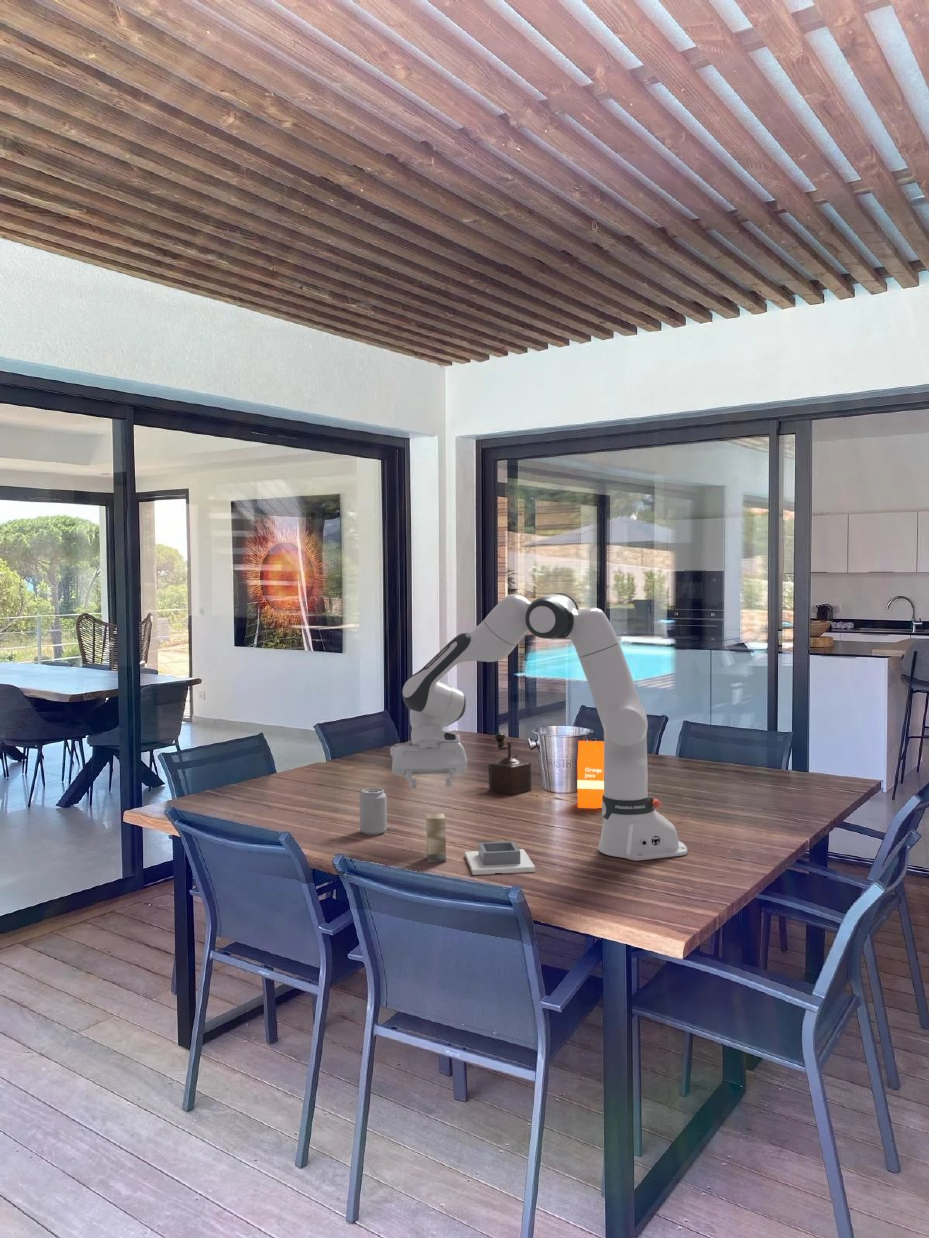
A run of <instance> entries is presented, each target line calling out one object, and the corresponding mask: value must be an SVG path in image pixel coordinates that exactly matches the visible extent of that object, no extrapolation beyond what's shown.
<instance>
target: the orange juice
mask: <svg viewBox="0 0 929 1238" xmlns="http://www.w3.org/2000/svg"><path fill="white" fill-rule="evenodd" d="M577 745H578V746H577V747H578V748H577V761H576V762H577V779H576V780H577V787H576V788H577V808H578V809H597V808H602V796H603V794H604V740H603V741H602V740H597V741H596V740H578V744H577Z"/></svg>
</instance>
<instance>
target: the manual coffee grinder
mask: <svg viewBox="0 0 929 1238" xmlns="http://www.w3.org/2000/svg"><path fill="white" fill-rule="evenodd" d="M493 737H494V738H493V739H494V741H495V742H496V743H497V745H496V751H505V750H507V756H506V757H503V758H502V759H501V760H499V761H493V762H490V763H488V785H489V786H488V787H489V788H488V791H489V790H490V791H489V792H491V791H492V793H495V792H496V794H501V795H505V794H506V796H514V795H515V796H517V795H519V794H524V793H527V792H531V791H532V763H531V762H526V761H524V760H522V759H519V758H518V755H515V756H512V751H511V750H512V748H513V747H512V742H511V741H507V742H506V743H507V746H506V743H505V739H506V735H505V733H502V732H499V733H498V732H497V733H496V734H495V735H494V736H493ZM505 746H506V747H505Z"/></svg>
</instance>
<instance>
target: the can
mask: <svg viewBox="0 0 929 1238" xmlns="http://www.w3.org/2000/svg"><path fill="white" fill-rule="evenodd" d="M387 799H388V798H387V794H386V793H385V790H384V789H383V788H380V787H369V788H364V789H362V790H361V794H360V795H359V831H360V832H361V833H362V834H363V833H364V834H363V835H365V834H368V835H367V836H379V834H380V835H382V834H381V833H383V832H384V833H385V832H386V831H387V829H388V816H387V815H388V811H387V809H388V807H387ZM384 833H383V834H384Z"/></svg>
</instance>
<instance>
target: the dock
mask: <svg viewBox="0 0 929 1238" xmlns="http://www.w3.org/2000/svg"><path fill="white" fill-rule="evenodd" d="M477 845H478V850H472V851H470V850H469V851H464V857H465V859H467V860H466V861H467V863H468V866H470V867H469V868H470V872H471V875H474V876H478V875H496V874H495V873H502V874H515V873H517V874H519V873H520V874H521V873H535V872H536V865H535V864H534V863H533V862H532V860H531V858H530V857H529V855H528V853H527V852H526V851H525V849H524V848H519V847H518V845H517V844H516V843H515V841H514V840H513V841H511V840H510V841H509V840H508V841H487V842H486V841H485V842H478V844H477Z"/></svg>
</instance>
